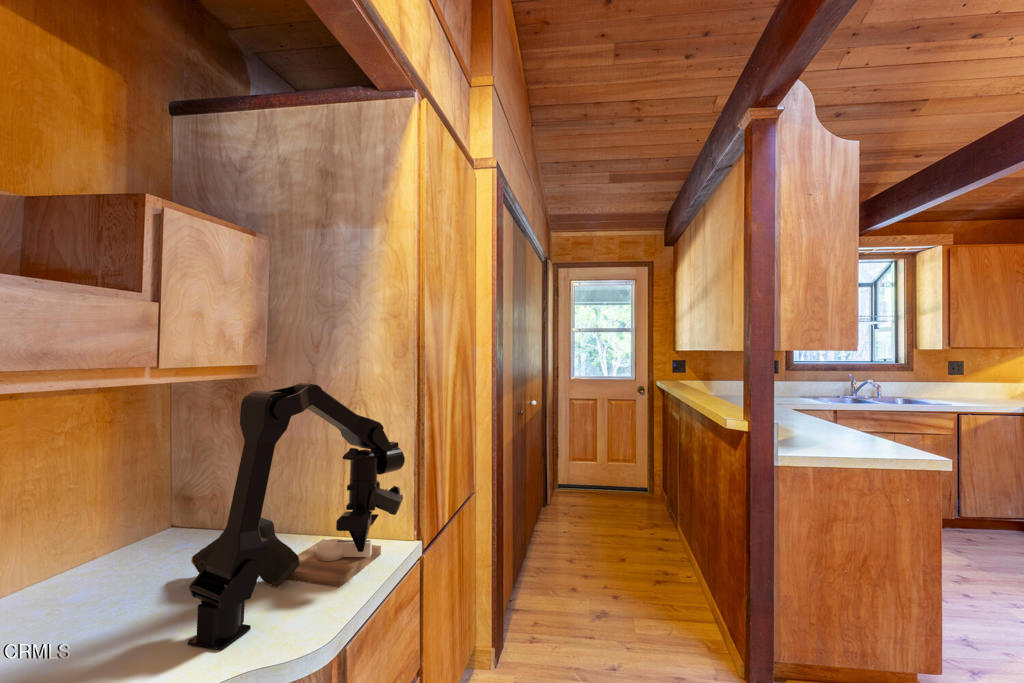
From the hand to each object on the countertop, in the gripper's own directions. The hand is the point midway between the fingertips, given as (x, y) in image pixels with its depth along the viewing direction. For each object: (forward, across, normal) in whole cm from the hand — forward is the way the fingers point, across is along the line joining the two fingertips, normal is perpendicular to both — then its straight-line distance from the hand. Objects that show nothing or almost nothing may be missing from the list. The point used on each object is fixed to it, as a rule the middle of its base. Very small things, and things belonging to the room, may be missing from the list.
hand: (360, 551), depth 107 cm
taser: (+4, -5, +22) cm, 23 cm away
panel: (+4, +2, +7) cm, 8 cm away
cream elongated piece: (+1, +2, +4) cm, 5 cm away
